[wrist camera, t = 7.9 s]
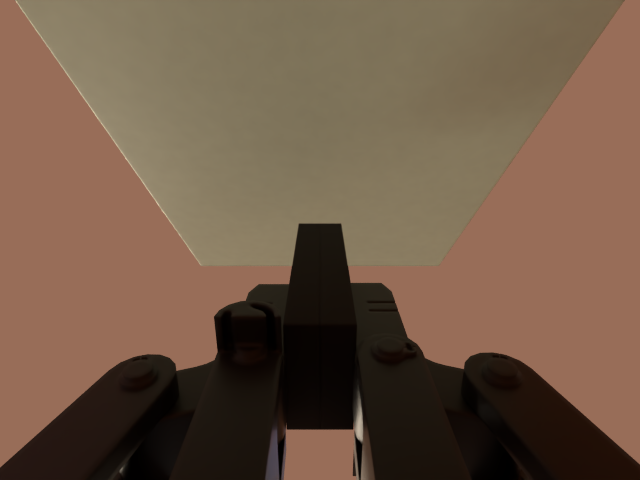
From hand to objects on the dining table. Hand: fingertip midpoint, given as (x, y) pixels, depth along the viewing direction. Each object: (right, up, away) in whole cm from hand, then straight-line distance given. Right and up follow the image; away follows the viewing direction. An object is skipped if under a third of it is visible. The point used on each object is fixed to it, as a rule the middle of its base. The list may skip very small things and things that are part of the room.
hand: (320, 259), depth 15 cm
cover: (0, +3, +1) cm, 4 cm away
